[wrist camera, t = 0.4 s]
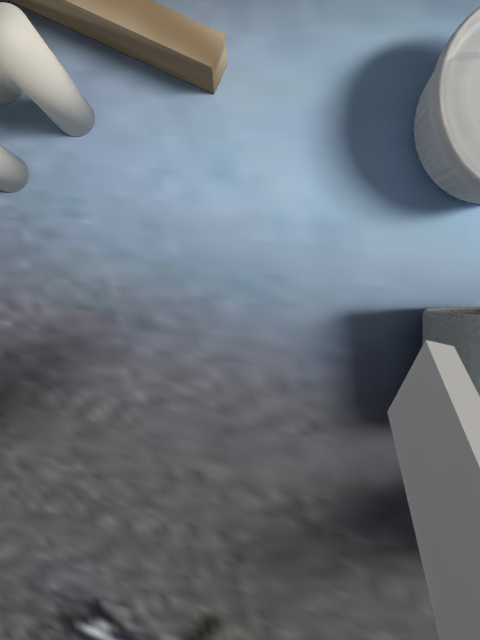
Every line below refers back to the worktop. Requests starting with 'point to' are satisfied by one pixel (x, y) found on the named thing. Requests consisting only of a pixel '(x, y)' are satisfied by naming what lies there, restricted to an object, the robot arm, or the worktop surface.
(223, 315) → the worktop surface
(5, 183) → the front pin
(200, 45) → the triangular peg stand
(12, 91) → the pin
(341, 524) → the worktop surface
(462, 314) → the ceramic mug
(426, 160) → the ramekin
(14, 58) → the pin
